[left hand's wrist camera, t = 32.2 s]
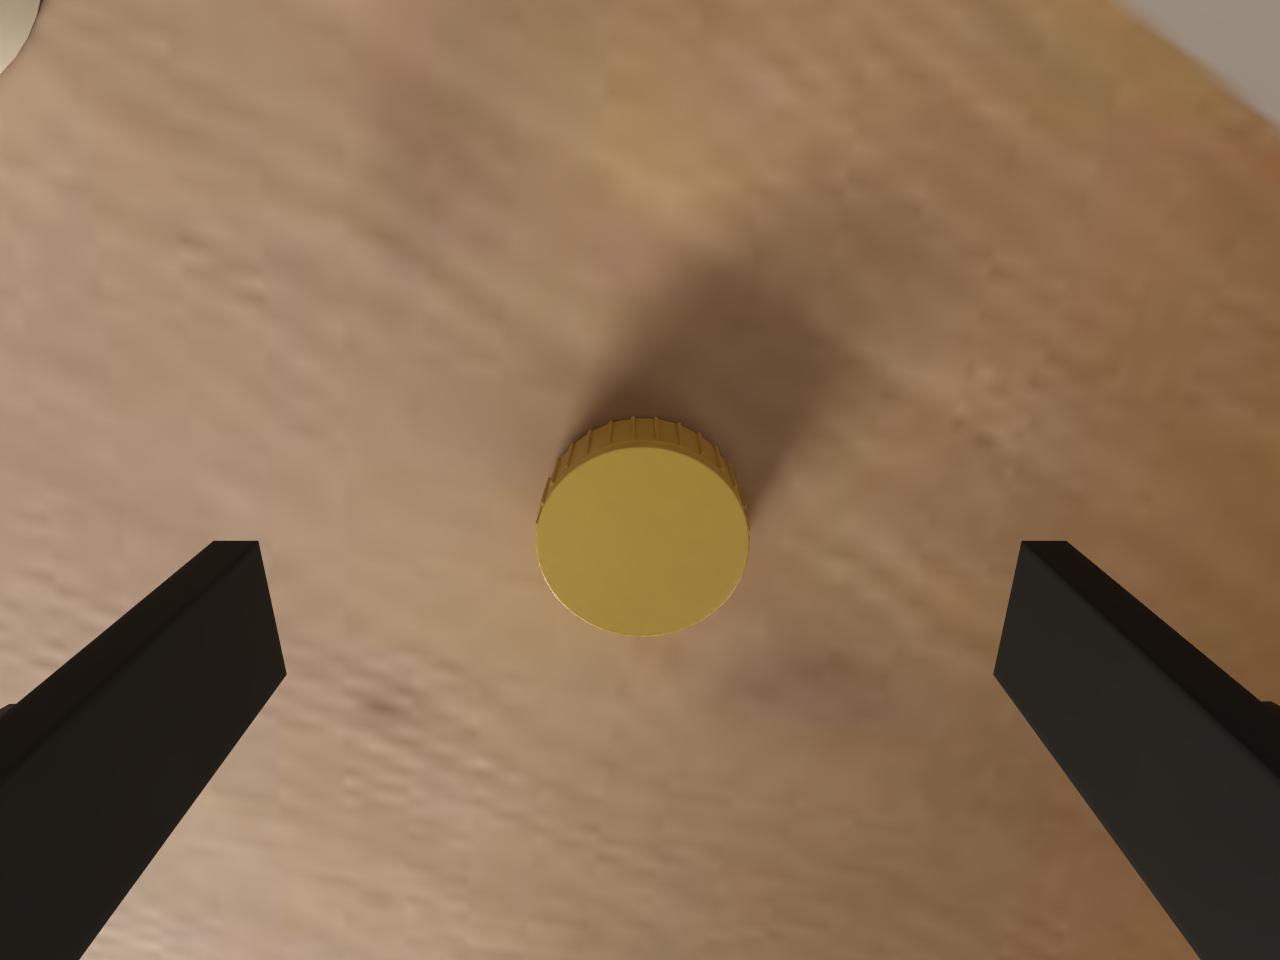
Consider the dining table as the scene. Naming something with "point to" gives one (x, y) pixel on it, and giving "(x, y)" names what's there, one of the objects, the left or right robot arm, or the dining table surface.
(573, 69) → the dining table surface
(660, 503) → the cap
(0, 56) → the bottle
